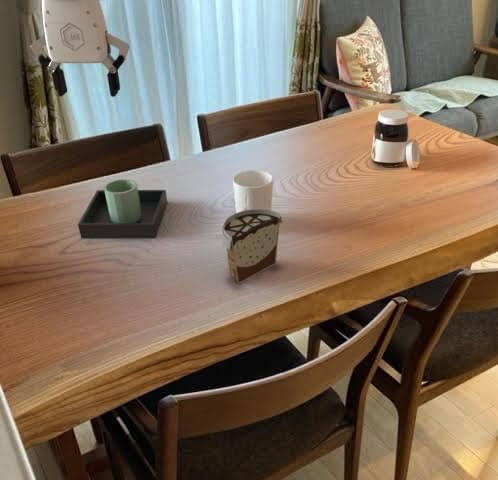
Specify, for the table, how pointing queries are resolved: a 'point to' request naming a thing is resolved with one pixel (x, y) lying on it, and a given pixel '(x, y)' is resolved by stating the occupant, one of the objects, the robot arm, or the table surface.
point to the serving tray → (101, 226)
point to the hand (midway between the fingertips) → (88, 94)
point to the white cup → (253, 190)
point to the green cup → (123, 201)
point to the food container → (251, 242)
